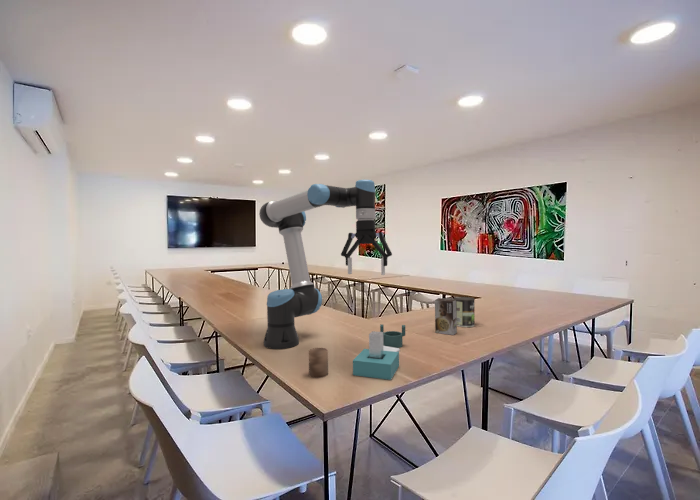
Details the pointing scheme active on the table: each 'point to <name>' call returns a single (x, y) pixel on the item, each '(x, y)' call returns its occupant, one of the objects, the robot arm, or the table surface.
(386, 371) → the socket block
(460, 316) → the coffee can
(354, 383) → the table surface
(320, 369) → the round bit
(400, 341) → the bracket
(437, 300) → the coffee box
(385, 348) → the external hard drive
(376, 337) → the square bit
